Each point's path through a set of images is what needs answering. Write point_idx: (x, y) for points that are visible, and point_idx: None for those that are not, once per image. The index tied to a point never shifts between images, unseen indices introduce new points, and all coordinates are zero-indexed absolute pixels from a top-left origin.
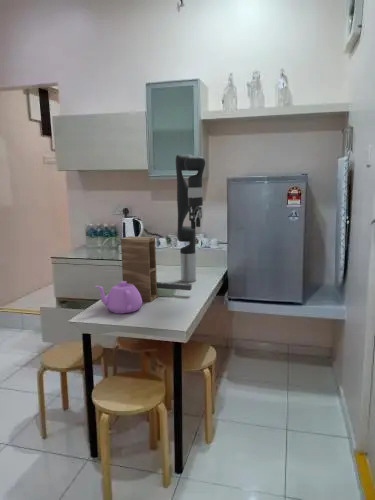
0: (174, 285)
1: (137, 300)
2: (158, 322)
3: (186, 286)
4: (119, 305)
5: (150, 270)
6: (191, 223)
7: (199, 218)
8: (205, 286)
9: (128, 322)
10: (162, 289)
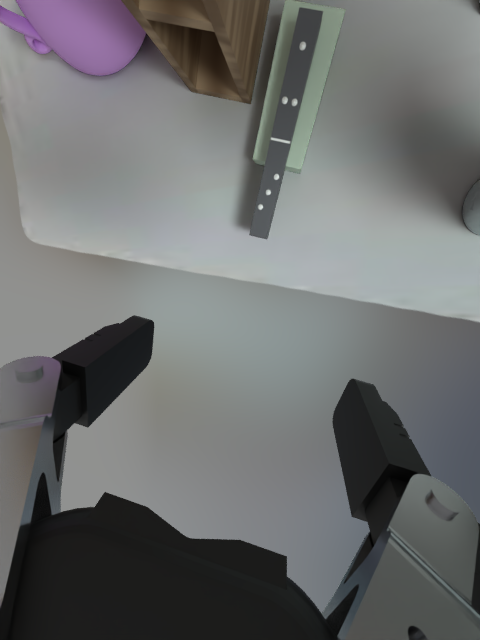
0: (264, 168)
1: (63, 55)
2: (44, 171)
3: (252, 221)
4: None
5: (144, 10)
6: (63, 352)
7: (359, 548)
8: (378, 277)
9: (16, 76)
10: (263, 116)
